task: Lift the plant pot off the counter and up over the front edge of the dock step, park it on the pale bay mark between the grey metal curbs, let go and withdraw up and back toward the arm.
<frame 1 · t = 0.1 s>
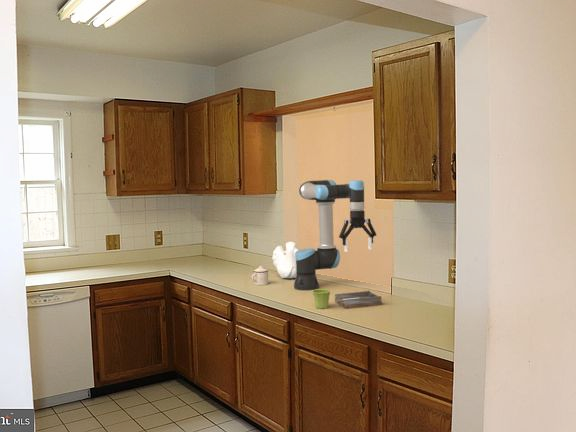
hand: (358, 250, 282), 28 cm above the worktop, tool pointing down, fingers open, 13 cm apart
plant pot: (322, 308, 278), on the worktop
dock: (357, 303, 283), on the worktop
teacup with lid: (259, 284, 342), on the worktop
decorative rooster: (287, 277, 363), on the worktop
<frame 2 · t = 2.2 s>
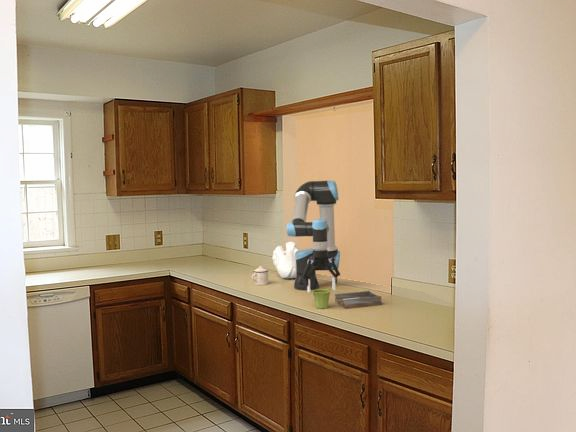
hand: (321, 290, 277), 9 cm above the worktop, tool pointing down, fingers open, 13 cm apart
nothing on the worktop moved.
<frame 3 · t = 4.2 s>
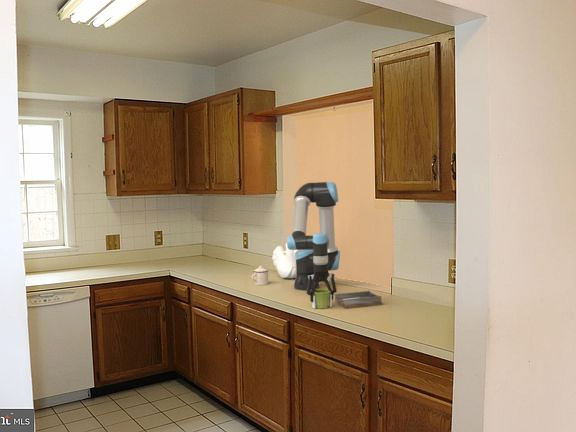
hand: (322, 307, 277), 0 cm above the worktop, tool pointing down, fingers closed on plant pot, 8 cm apart
plant pot: (322, 307, 278), on the worktop, touching gripper
everything else where it was.
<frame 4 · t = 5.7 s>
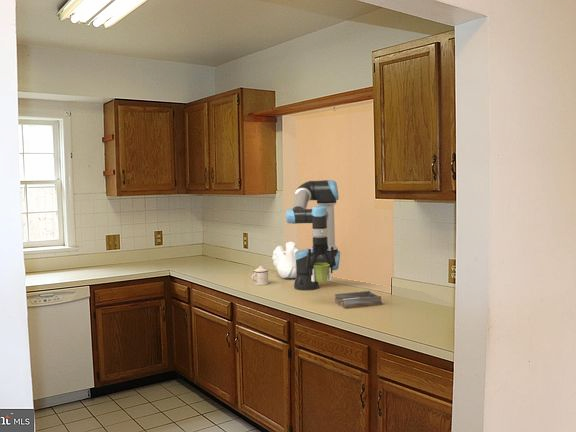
hand: (321, 280, 277), 14 cm above the worktop, tool pointing down, fingers closed on plant pot, 8 cm apart
plant pot: (321, 281, 277), point 14 cm above the worktop, touching gripper
everything else where it was.
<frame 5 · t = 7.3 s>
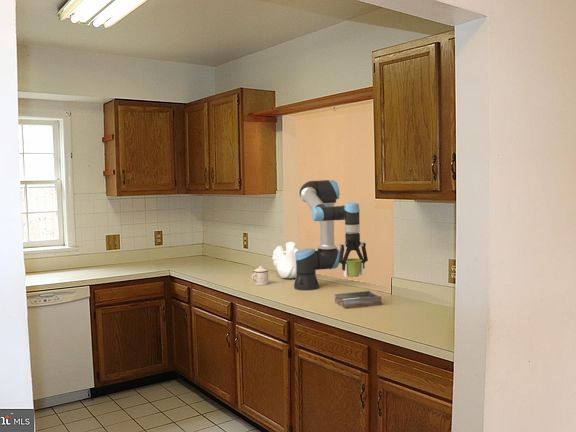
hand: (353, 275, 281), 15 cm above the worktop, tool pointing down, fingers closed on plant pot, 8 cm apart
plant pot: (353, 276, 282), point 15 cm above the worktop, touching gripper
everything else where it was.
when the fingers open (3 cm above the worktop, at t = 9.8 s): plant pot moves 3 cm, point 3 cm above the worktop.
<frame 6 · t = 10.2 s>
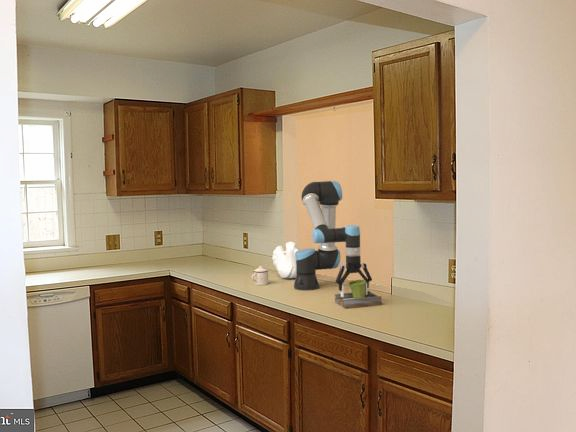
hand: (354, 295, 282), 4 cm above the worktop, tool pointing down, fingers open, 12 cm apart
plant pot: (359, 298, 284), point 3 cm above the worktop, touching gripper
everything else where it was.
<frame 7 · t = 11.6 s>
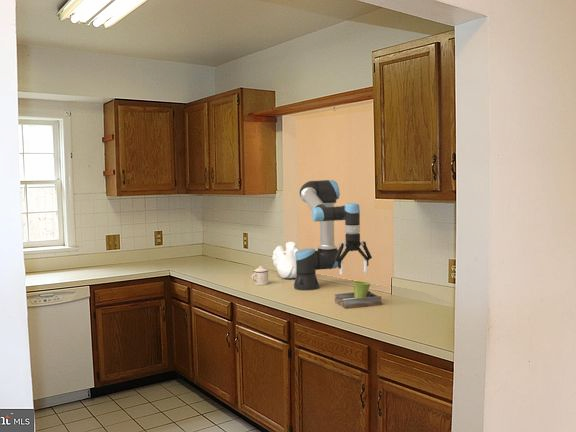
hand: (353, 273, 282), 16 cm above the worktop, tool pointing down, fingers open, 13 cm apart
plant pot: (360, 299, 284), point 2 cm above the worktop, touching dock
everything else where it was.
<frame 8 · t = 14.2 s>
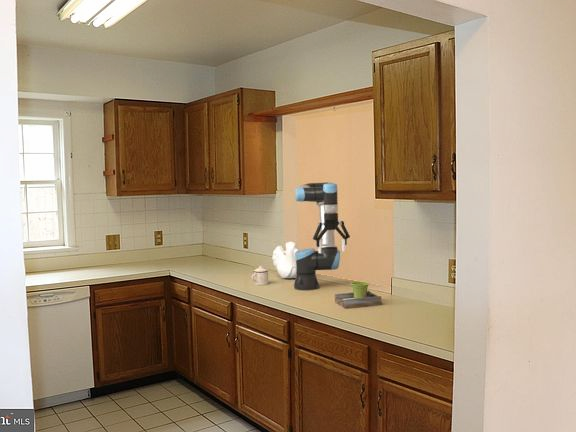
hand: (331, 252, 288), 27 cm above the worktop, tool pointing down, fingers open, 13 cm apart
at the end: plant pot inside the target area on the dock (3.1 cm from its centre), point 1.9 cm above the dock's base; plant pot tilted 0°; the gripper is holding nothing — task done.
